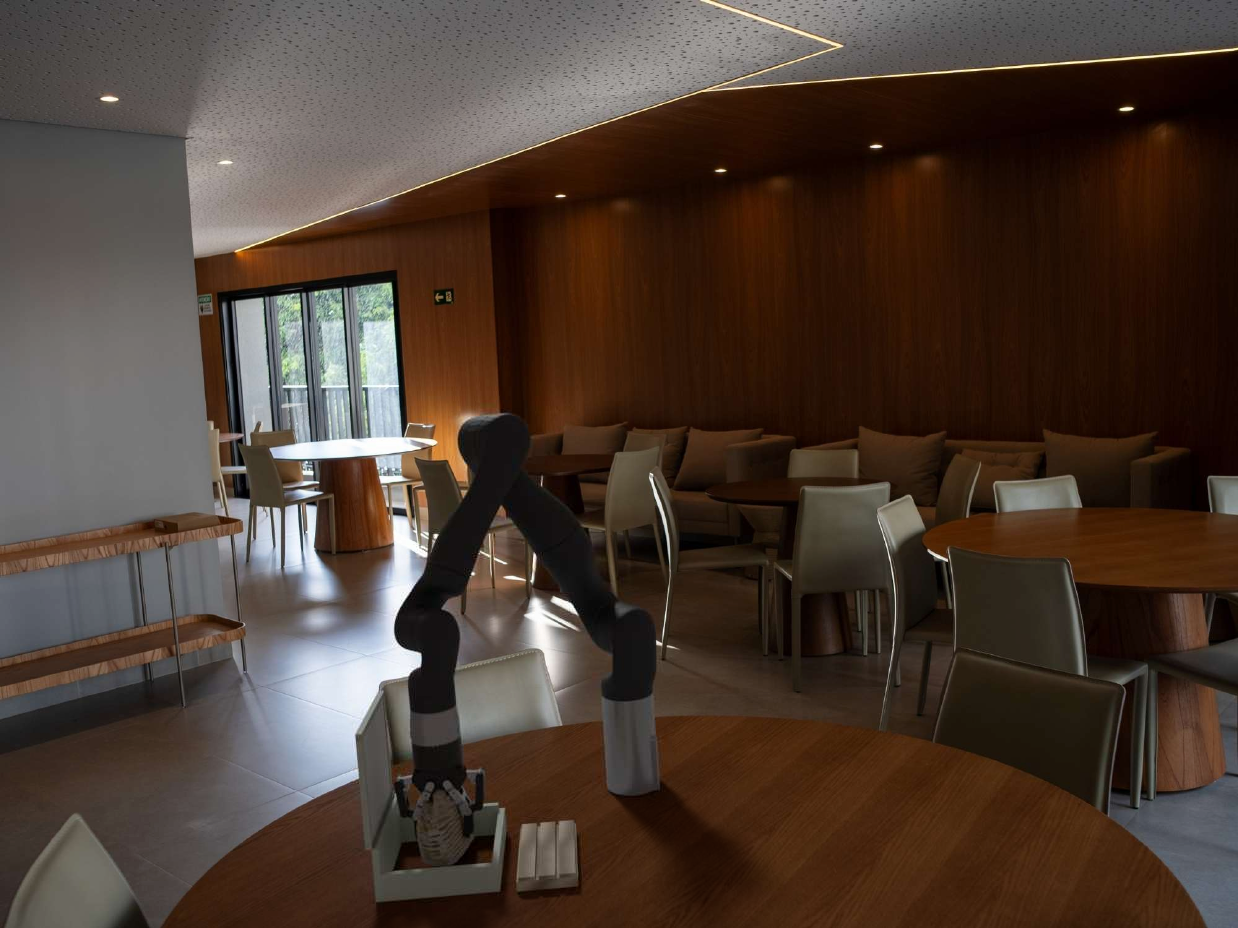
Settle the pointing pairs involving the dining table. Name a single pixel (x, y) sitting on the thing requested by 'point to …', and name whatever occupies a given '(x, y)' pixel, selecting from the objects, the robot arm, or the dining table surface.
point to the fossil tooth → (441, 831)
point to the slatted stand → (547, 856)
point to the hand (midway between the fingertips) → (445, 837)
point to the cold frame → (392, 830)
